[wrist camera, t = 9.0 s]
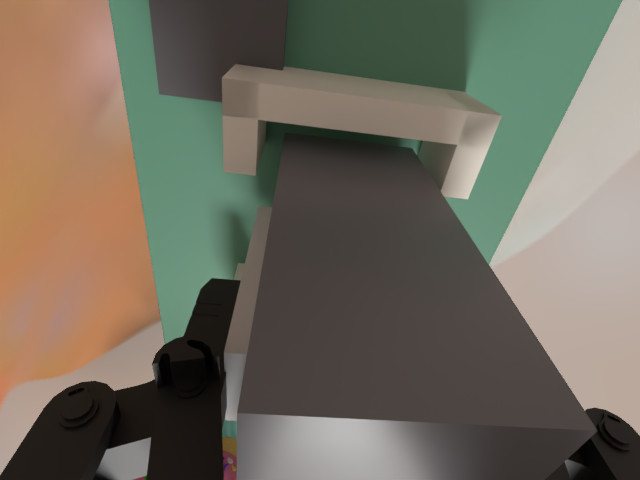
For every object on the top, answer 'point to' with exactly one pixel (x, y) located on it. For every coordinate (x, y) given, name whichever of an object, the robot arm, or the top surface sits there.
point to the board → (335, 108)
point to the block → (389, 336)
